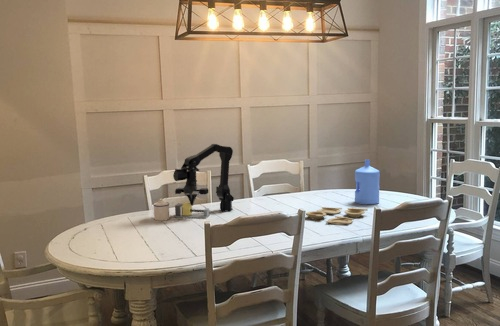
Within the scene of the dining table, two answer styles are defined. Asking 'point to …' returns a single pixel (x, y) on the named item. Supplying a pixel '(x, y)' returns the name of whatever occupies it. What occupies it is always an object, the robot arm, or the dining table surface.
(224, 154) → the robot arm
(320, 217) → the tableware set
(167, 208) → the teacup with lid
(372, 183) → the water jug
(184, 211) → the sleeve
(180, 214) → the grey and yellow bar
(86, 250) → the dining table surface
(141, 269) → the dining table surface
